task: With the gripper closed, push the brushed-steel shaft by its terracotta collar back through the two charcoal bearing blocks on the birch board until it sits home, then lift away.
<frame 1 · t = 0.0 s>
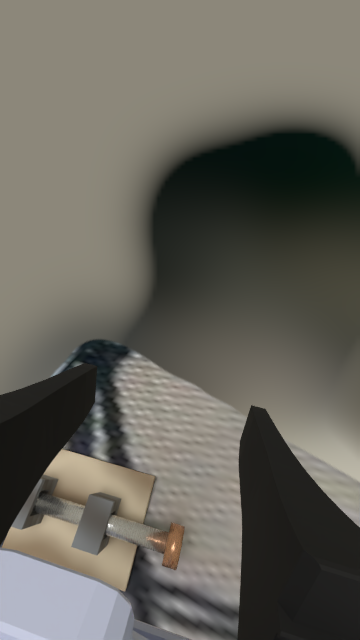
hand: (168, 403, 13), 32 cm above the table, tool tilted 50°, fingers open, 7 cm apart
bearing board: (85, 509, 38), on the table
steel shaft: (106, 523, 33), point 4 cm above the table, slide at 5.0 cm
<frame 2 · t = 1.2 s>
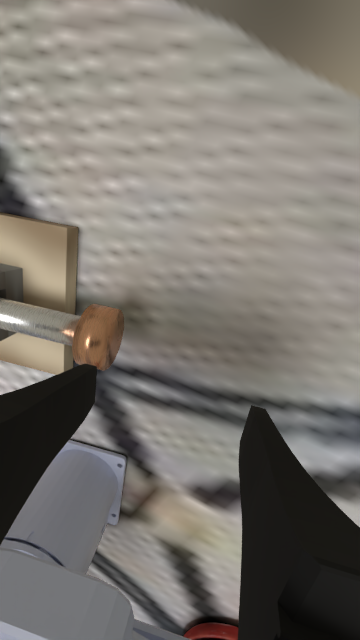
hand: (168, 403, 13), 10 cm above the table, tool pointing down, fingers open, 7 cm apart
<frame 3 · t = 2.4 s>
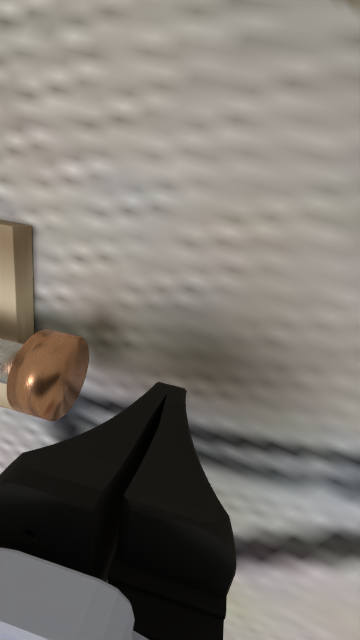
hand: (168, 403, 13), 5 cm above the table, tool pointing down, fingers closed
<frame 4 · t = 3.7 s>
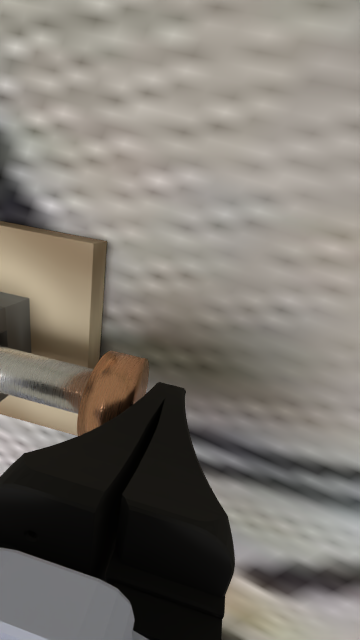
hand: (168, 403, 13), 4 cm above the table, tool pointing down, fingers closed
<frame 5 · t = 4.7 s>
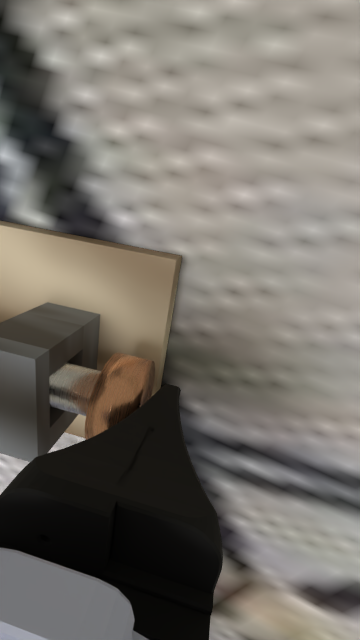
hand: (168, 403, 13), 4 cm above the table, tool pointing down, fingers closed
bearing board: (40, 328, 17), on the table
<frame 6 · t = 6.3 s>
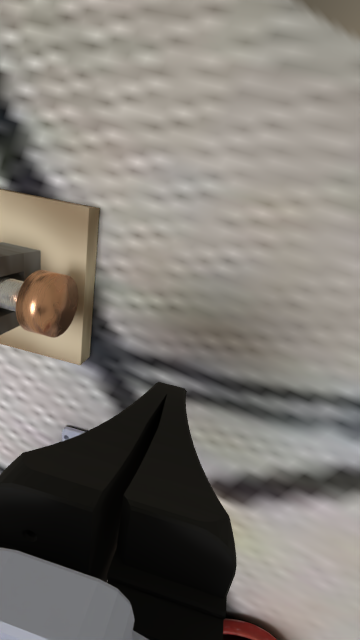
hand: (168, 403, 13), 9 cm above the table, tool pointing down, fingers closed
bearing board: (2, 268, 23), on the table
plant pot: (236, 636, 34), on the table
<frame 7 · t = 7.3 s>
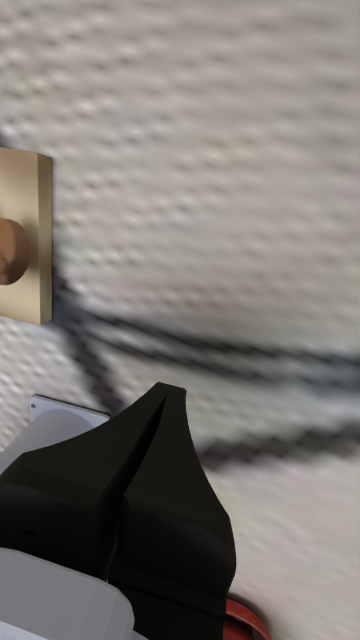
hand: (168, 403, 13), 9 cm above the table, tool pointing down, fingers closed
plant pot: (216, 615, 33), on the table
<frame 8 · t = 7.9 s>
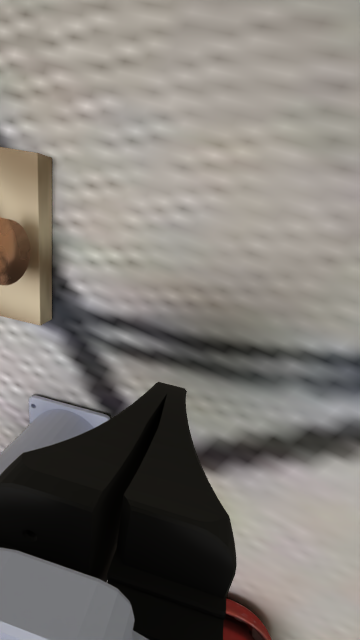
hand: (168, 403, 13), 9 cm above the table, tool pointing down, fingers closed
plant pot: (216, 615, 33), on the table
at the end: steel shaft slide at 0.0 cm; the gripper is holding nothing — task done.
